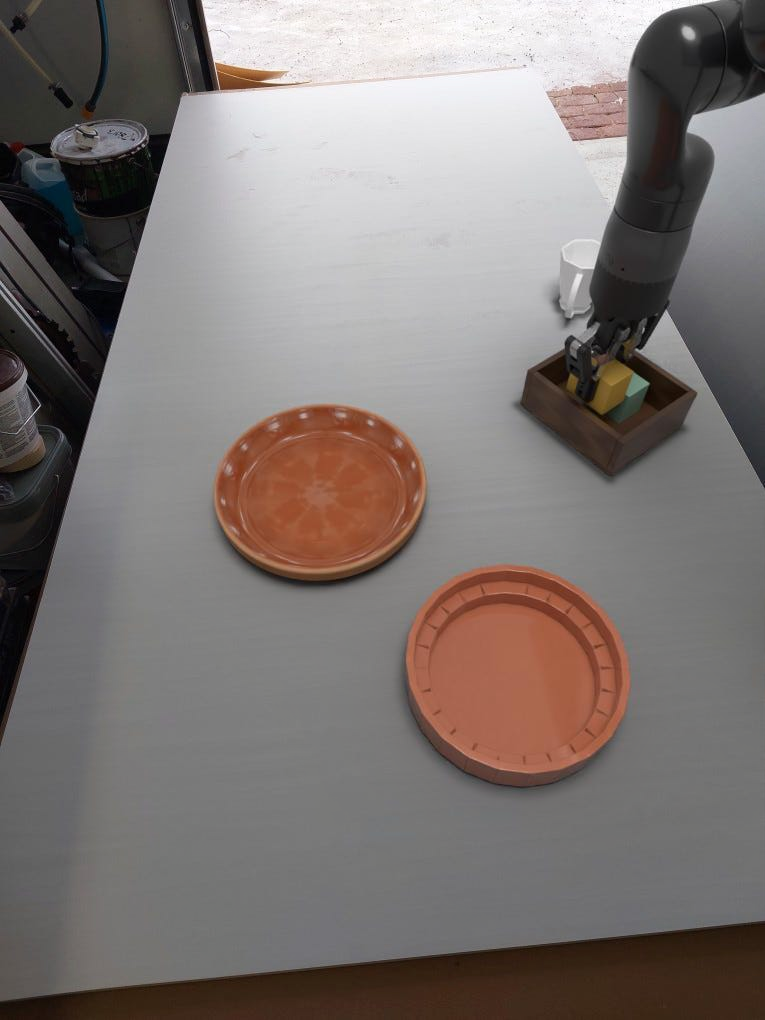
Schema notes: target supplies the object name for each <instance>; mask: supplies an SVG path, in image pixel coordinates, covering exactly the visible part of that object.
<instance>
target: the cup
mask: <svg viewBox="0 0 765 1020" xmlns="http://www.w3.org/2000/svg"><path fill="white" fill-rule="evenodd" d="M600 246H601V242H600V241H598V240H597V239H593V238H587V239H586V238H585V239H579V238H578V239H571V240H570V241H569V242H568V243H566V244H565V245H563V246H562V247H560V259H559V260H560V262H559V263H560V264H559V276H558V277H559V279H558V281H559V294H560V297H559V300H558V302H559V306H560V309H561V310H563V311H564V318H567V319H572V318H573V317H574V315H582V314H585V313H586V312H587V311H588V310H590V309H591V308H592V307H591V306H592V305H591V303H592V300H591V297H590V294H589V287H590V283H591V279H592V275H593V271H594V268H595V264H596V260H597V257H598V253H599V249H600Z"/></svg>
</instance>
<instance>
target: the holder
mask: <svg viewBox="0 0 765 1020" xmlns="http://www.w3.org/2000/svg"><path fill="white" fill-rule="evenodd" d="M605 351H606V352H607V351H608V350H605ZM625 366H626V367H628V368H629V369H631V370H632V371H634V373H635V374H637V375H638V376H640V377H641V378H643V379H644V380H645V381H647V382H648V383H650V384H649V387H648V389H647V392H646V394H645V397H644V399H643V402H642V404H641V406H640V409H639V411H638V412H636V413H635V414H633V415H632V416H630V417H629V418H627V419H626V420H624V421H623V422H621V423H619V424H618V423H617V422H616V421H614V420H613V419H612V418H610V417H609V416H608V415H606V414H605V413H604V414H603V415H601V414H599V413H598V412H597V411H595V410H594V409H593V408H591V407H590V406H589V405H588V404H586V403H585V402H584V401H582V400H581V399H580V398H578V397H577V396H576V395H574V394H573V393H572V392H570V391H569V390H568V389H566V387H567V383H568V379H569V376H570V373H569V372H568V371H567V363H566V355H565V347H564V348H563V349H561V350H559V351H558V352H556V353H554V354H552V355H551V356H549V357H547V358H545V359H544V360H542V361H541V362H539V363H537V364H535V365H534V366H532V367H530V368H529V369H526V370H527V371H526V375H525V380H524V385H523V389H522V394H521V400H520V405H521V406H522V407H524V408H525V409H526V410H527V411H528V412H529V413H531V414H532V415H533V416H535V417H536V418H537V419H538V420H540V421H541V422H542V423H544V424H545V425H546V426H547V427H548V428H550V429H551V430H552V431H553V432H554V433H556V434H557V435H558V436H559V437H561V438H562V439H563V440H564V441H566V442H567V443H568V444H569V445H571V447H573V448H575V449H576V450H577V451H578V452H580V454H582V455H583V456H584V457H586V458H587V459H588V460H589V461H590V462H592V463H593V464H594V465H595V466H597V467H598V468H599V469H600V470H601V471H603V472H604V473H605V474H607V475H608V476H609V477H612V476H613V475H614V474H616V473H617V472H618V471H620V470H622V469H623V468H624V467H626V466H627V465H629V464H630V463H632V462H633V461H634V460H636V459H638V458H639V457H640V456H641V455H643V454H645V453H646V452H647V451H649V450H650V449H651V448H653V447H655V446H656V445H657V444H659V443H660V442H661V441H663V440H664V439H666V438H667V437H668V436H670V435H672V434H673V433H674V432H675V431H677V430H679V429H680V428H681V427H682V426H683V424H684V422H685V420H686V418H687V416H688V414H689V412H690V410H691V408H692V406H693V404H694V402H695V400H696V398H697V396H698V394H699V393H698V391H697V390H695V389H693V388H692V387H691V386H689V385H688V384H686V383H685V382H683V381H682V380H680V379H679V378H678V377H676V376H675V375H673V374H671V373H670V372H668V371H667V370H666V369H664V368H662V367H661V366H659V364H656V363H655V362H653V360H650V359H649V358H648V357H647V356H645V355H643V354H642V353H640V352H639V351H638V350H636V349H635V352H634V355H633V357H632V358H631V359H630V360H629V361H627V362H626V365H625Z"/></svg>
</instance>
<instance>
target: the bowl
mask: <svg viewBox="0 0 765 1020" xmlns="http://www.w3.org/2000/svg"><path fill="white" fill-rule="evenodd" d="M404 665H405V667H404V668H405V671H404V672H405V673H404V678H405V685H406V691H407V698H408V703H409V706H410V709H411V711H412V714H413V715H414V717H415V720H416V723H417V725H418V727H419V729H420V730H421V732H422V733H423V734H424V735H425V737H426V738H427V739H428V740H429V742H430V743H431V744H432V745H433V746H434V748H435V749H436V750H437V752H439V754H440V755H442V756H443V757H444V758H446V759H447V760H449V761H450V762H451V763H453V764H454V765H455V766H457V767H458V768H459V769H461V771H464V772H465V773H468V774H470V775H473V776H474V777H475V776H476V777H477V778H480V779H482V780H485V781H488V782H489V783H493V784H497V785H498V784H499V785H506V786H513V787H519V788H521V787H522V788H525V787H532V786H539V785H548V784H552V783H556V782H558V781H560V780H562V779H565V778H566V777H569V776H571V775H573V774H575V773H577V772H578V773H579V771H581V769H583V768H584V767H585V766H586V765H587V764H588V763H590V762H591V761H592V760H593V759H594V758H595V757H596V756H597V755H598V754H599V753H601V751H602V750H603V748H604V747H605V746H606V745H607V743H608V742H609V741H610V739H611V738H612V737H613V735H614V733H615V732H616V730H617V728H618V727H619V724H620V723H621V721H622V720H623V718H624V716H625V714H626V711H627V705H628V701H629V697H630V691H631V674H630V660H629V657H628V654H627V651H626V648H625V645H624V643H623V640H622V638H621V634H620V632H619V630H618V629H617V628H616V626H615V624H614V623H613V621H612V620H611V619H610V617H609V615H608V614H607V613H606V611H605V610H604V609H603V608H602V607H601V606H600V605H599V604H598V603H597V601H595V600H594V599H593V598H592V597H591V596H590V595H589V594H588V593H586V592H585V591H584V590H583V589H581V588H580V587H578V586H577V585H575V584H573V583H571V582H569V581H568V580H567V579H565V578H563V577H561V576H559V575H557V574H555V573H551V572H548V571H546V570H542V569H540V568H536V567H532V566H524V565H515V564H508V563H507V564H506V563H504V564H495V565H488V566H486V565H485V566H480V567H476V568H474V569H472V570H469V571H466V572H464V573H463V572H462V573H460V574H458V575H455V576H454V577H452V578H451V579H449V580H448V581H447V582H445V583H444V584H442V585H441V586H439V587H438V588H436V589H435V590H434V591H433V592H432V593H431V595H430V596H429V597H428V598H427V599H426V601H425V602H424V603H423V604H422V605H421V607H420V608H419V610H418V612H417V613H416V616H415V617H414V620H413V623H412V625H411V627H410V630H409V632H408V637H407V646H406V653H405V664H404Z"/></svg>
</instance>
